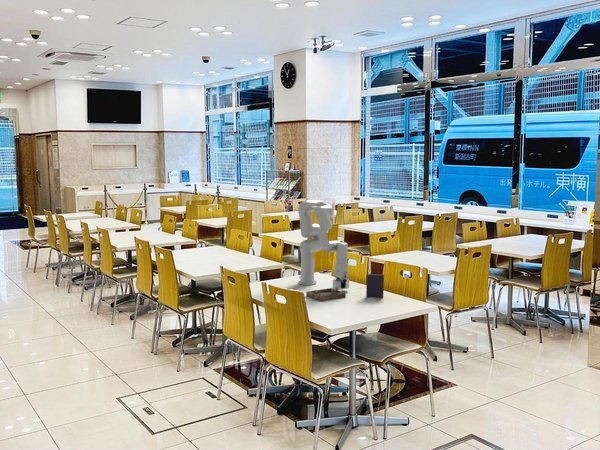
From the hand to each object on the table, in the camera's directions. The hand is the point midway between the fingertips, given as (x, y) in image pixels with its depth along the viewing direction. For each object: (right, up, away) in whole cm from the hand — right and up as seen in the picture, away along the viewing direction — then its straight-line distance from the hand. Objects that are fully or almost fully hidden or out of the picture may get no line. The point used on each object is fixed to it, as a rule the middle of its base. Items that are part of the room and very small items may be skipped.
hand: (340, 286), depth 393 cm
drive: (0, -1, 0) cm, 1 cm away
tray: (-11, -5, -14) cm, 18 cm away
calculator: (+21, -5, -14) cm, 26 cm away
